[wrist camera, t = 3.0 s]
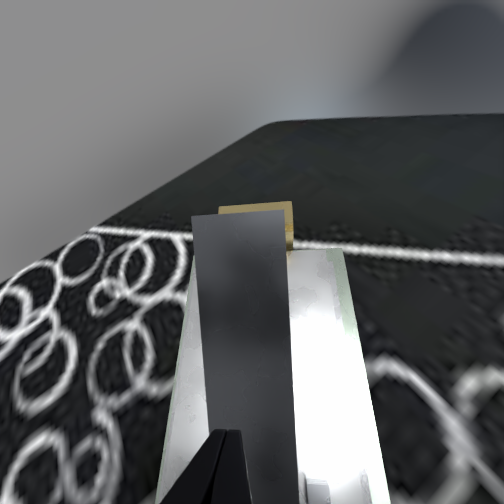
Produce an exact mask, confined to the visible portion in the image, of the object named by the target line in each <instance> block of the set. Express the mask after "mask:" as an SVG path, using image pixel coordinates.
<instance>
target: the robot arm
mask: <svg viewBox="0 0 504 504" xmlns="http://www.w3.org/2000/svg"><path fill="white" fill-rule="evenodd" d="M159 504H252V497H251V491H250V484H249V478H248V471H247V465H246V458H245V452H244V445H243V439H242V432H241V430H234V429H230V430H228V431H227V430H226V429H214V430H213V431H212V432H211V433H210V435H209V436H208V438H207V439H206V440H205V442H204V443H203V444H202V446H201V447H200V449H199V450H198V451H197V453H196V454H195V455H194V457H193V458H192V460H191V461H190V462H189V464H188V465H187V466H186V468H185V469H184V471H183V472H182V473H181V475H180V476H179V477H178V479H177V480H176V482H175V483H174V484H173V486H172V487H171V488H170V490H169V491H168V492H167V494H166V495H165V497H164V498H163V499H162V501H161V502H160V503H159Z"/></svg>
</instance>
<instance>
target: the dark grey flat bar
mask: <svg viewBox="0 0 504 504" xmlns="http://www.w3.org/2000/svg"><path fill="white" fill-rule="evenodd" d="M191 218H192V231H193V243H194V255H195V268H196V280H197V293H198V305H199V317H200V330H201V342H202V355H203V367H204V379H205V392H206V404H207V417H208V429H209V435H210V433H211V432H212V431H213V430H214V429H226V430H227V431H228V430H230V429H234V430H241V432H242V439H243V445H244V452H245V458H246V465H247V471H248V478H249V484H250V491H251V497H252V504H300V503H299V484H298V465H297V446H296V427H295V408H294V388H293V369H292V350H291V331H290V312H289V293H288V274H287V255H286V236H285V217H284V209H282V210H269V211H255V212H242V213H228V214H214V215H201V216H191Z"/></svg>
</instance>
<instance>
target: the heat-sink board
mask: <svg viewBox="0 0 504 504" xmlns="http://www.w3.org/2000/svg"><path fill="white" fill-rule="evenodd" d="M282 209H284V217H285V236H286V255H287V274H288V293H289V312H290V331H291V350H292V369H293V388H294V408H295V427H296V446H297V465H298V484H299V503H300V504H391V503H390V498H389V492H388V487H387V482H386V477H385V471H384V466H383V461H382V456H381V450H380V445H379V440H378V435H377V429H376V424H375V419H374V413H373V408H372V403H371V398H370V392H369V387H368V382H367V377H366V371H365V366H364V361H363V356H362V350H361V345H360V340H359V334H358V329H357V324H356V319H355V313H354V308H353V303H352V298H351V292H350V287H349V282H348V277H347V271H346V266H345V261H344V255H343V250H342V248H331V249H312V250H293V214H292V202H291V201H287V202H274V203H261V204H248V205H235V206H222V207H219V213H218V214H228V213H242V212H255V211H269V210H282ZM208 436H209V429H208V417H207V404H206V392H205V379H204V367H203V355H202V342H201V330H200V317H199V305H198V293H197V280H196V268H195V256H194V257H193V264H192V270H191V276H190V283H189V289H188V296H187V302H186V308H185V315H184V321H183V328H182V334H181V340H180V347H179V353H178V359H177V366H176V372H175V379H174V385H173V391H172V398H171V404H170V411H169V417H168V423H167V430H166V436H165V443H164V449H163V455H162V462H161V468H160V474H159V481H158V487H157V494H156V500H155V504H159V503H160V502H161V501H162V499H163V498H164V497H165V495H166V494H167V492H168V491H169V490H170V488H171V487H172V486H173V484H174V483H175V482H176V480H177V479H178V477H179V476H180V475H181V473H182V472H183V471H184V469H185V468H186V466H187V465H188V464H189V462H190V461H191V460H192V458H193V457H194V455H195V454H196V453H197V451H198V450H199V449H200V447H201V446H202V444H203V443H204V442H205V440H206V439H207V438H208Z"/></svg>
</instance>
